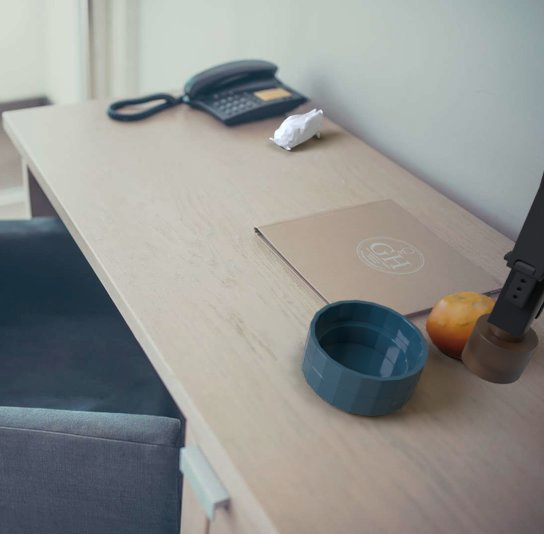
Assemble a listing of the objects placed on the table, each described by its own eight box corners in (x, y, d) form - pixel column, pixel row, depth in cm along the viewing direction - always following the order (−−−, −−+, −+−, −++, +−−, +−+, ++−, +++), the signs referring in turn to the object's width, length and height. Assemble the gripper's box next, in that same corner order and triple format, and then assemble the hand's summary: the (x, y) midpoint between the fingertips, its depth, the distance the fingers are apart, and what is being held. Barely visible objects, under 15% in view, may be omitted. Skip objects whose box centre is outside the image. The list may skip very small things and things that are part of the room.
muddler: (530, 365, 58) (612, 217, 48) (506, 393, 56) (587, 242, 46) (476, 336, 61) (543, 191, 51) (451, 361, 58) (517, 213, 49)
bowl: (432, 380, 71) (449, 341, 67) (373, 439, 65) (388, 400, 61) (340, 323, 78) (351, 285, 74) (278, 372, 72) (287, 333, 68)
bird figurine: (293, 135, 121) (265, 139, 114) (310, 102, 117) (282, 104, 110) (314, 148, 119) (286, 154, 111) (332, 115, 115) (304, 119, 108)
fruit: (492, 381, 69) (477, 313, 67) (424, 370, 76) (409, 308, 74) (526, 347, 73) (514, 283, 72) (460, 340, 80) (446, 281, 78)
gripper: (626, 7, 47) (509, 262, 61) (538, 53, 39) (426, 337, 53) (751, 32, 43) (594, 300, 57) (683, 91, 34) (518, 389, 48)
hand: (513, 318), depth 55 cm, fingers closed on muddler, 3 cm apart
